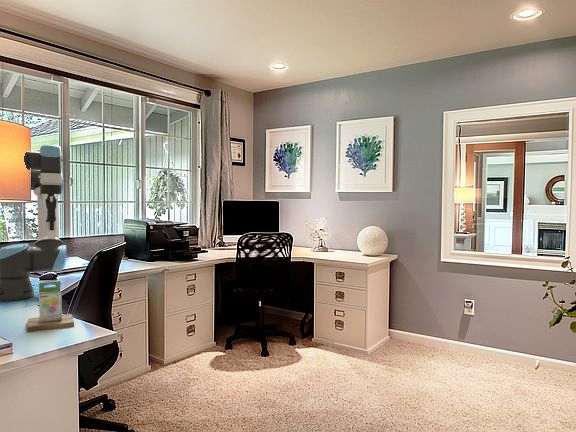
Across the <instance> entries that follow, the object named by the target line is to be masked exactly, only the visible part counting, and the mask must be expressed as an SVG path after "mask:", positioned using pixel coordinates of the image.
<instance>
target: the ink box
mask: <svg viewBox="0 0 576 432" xmlns="http://www.w3.org/2000/svg"><path fill="white" fill-rule="evenodd" d="M61 284H62V283H61V280H57V281H55V280H54V281H46V282H45V281H43V282H42V281H41V282H39V284H38V289H39V290H38V304H39V305H38V309H39V310H38V312H39V320H40V322H48V321H56V320H62V315H63V308H62V305H63V303H62V300H63V298H62V290H61ZM49 285H53V286H50V287H45V286H49Z"/></svg>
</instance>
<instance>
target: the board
mask: <svg viewBox="0 0 576 432" xmlns="http://www.w3.org/2000/svg"><path fill="white" fill-rule="evenodd" d="M74 326H75V321H74V317H73V315H72V313H67V314H65V313H64V314H62V320H56V321H48V322H40V320H39V317H31V318H27V326H26V327H27V328H26V329H27V330H26V332H27V333H28V332H37V331H46V330H53V329H54V330H55V329H62V328H71V327H74Z"/></svg>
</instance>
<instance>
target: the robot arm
mask: <svg viewBox="0 0 576 432" xmlns="http://www.w3.org/2000/svg"><path fill="white" fill-rule="evenodd" d="M26 151H27V152H26V153H25V156H24V162H25V165H26V168H27V169H28V170H30V168H31V190H30V191H33V194H34V196H36V198H37V204H36V205H37V240H36V241H35V242H34V246H31V245H30V243H18V244H12V245H7V246H3V247H1V248H0V301H1V302H7V301H8V302H10V301H20V300H25V299H29V298H33V297H35V290H34V287H33V284H32V282H31V279H30V273H47V272H48V273H49V272H52V273H53V272H59V271H62V270H64V268H65V266H66V258H67V251H68V250H67V247H68V246H67V245H65V244H64V241H63V240H62V239H60V230H59V229H60V228H59V206H58V205H59V203H58V196H59V195H61V194H62V191H63V190H64V187H65V186H64V185H65V184H64V177H63V173H62V148H61V146H59V145H54V144H53V145H52V144H42V145H40V146H39V151H31V152H30V151H28V150H26Z"/></svg>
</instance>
